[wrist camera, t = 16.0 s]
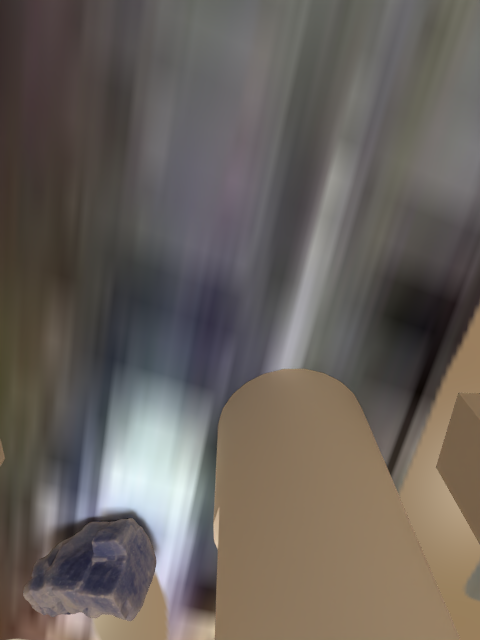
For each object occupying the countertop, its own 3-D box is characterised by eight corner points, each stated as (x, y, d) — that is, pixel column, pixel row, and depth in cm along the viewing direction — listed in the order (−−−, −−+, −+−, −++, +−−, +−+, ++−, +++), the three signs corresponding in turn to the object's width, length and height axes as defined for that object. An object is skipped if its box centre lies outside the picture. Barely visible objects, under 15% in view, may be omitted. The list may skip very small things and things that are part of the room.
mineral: (146, 502, 57) (129, 575, 48) (160, 551, 62) (148, 628, 52) (37, 513, 58) (1, 587, 49) (58, 561, 62) (29, 638, 53)
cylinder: (252, 347, 48) (273, 615, 23) (391, 397, 51) (547, 682, 26) (197, 462, 55) (165, 767, 29) (322, 499, 58) (392, 805, 32)
